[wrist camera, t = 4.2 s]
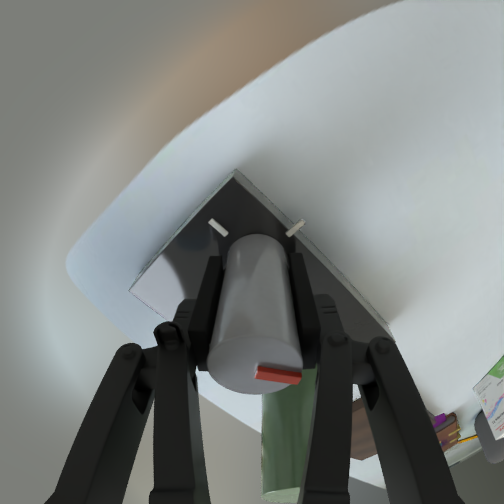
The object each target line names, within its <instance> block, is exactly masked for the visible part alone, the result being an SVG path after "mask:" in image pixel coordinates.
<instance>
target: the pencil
mask: <svg viewBox="0 0 504 504" xmlns="http://www.w3.org/2000/svg"><path fill="white" fill-rule="evenodd" d="M477 437H478V436H477V435H476V436H473V437H470V438H467V439H464V440H461V441H459V442H457V443H462V442H465V441H468V440H471V439H474V438H477Z"/></svg>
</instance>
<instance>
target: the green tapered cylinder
mask: <svg viewBox="0 0 504 504" xmlns="http://www.w3.org/2000/svg"><path fill="white" fill-rule="evenodd" d="M301 373H302V379H301V380H300V382H299V383H298V385H295V384H291V385H289V386H288V387H286V388H284V389H282V390H279V391H276V392H273V393H268V394H262V462H261V463H262V465H261V470H262V471H261V498H262V499H264V500H266V501H270V502H278V503H297V501H298V496H299V491H300V486H301V481H302V475H303V470H304V464H305V458H306V452H307V445H308V439H309V432H310V425H311V417H312V409H313V401H314V393H315V380H316V374H317V364H316V367H315V369H303V370H302V372H301Z"/></svg>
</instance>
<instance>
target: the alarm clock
mask: <svg viewBox="0 0 504 504" xmlns="http://www.w3.org/2000/svg"><path fill="white" fill-rule="evenodd" d="M474 426H475V431H476V433H477V436H478V438H479V441H480V443H481V446H482V449H483V451H484V454H485V457H486V459H487V461H488V462H489V463H493V464H495V463H498V462H500V461H502V460H504V437H503V438H500V439H498V440H495V437H494V435H493V432H492V430H491V428H490V425H489V423H488V421H487V418H486V416H485V414H484V411H482V412H481V413H480V414H479V415H478V416H477V418H476V420H475V424H474Z"/></svg>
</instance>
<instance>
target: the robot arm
mask: <svg viewBox="0 0 504 504" xmlns="http://www.w3.org/2000/svg"><path fill="white" fill-rule="evenodd" d="M223 272H224V268H223V260H222V256H210V257H209V260H208V263H207V266H206V270H205V273H204V276H203V279H202V283H201V286H200V289H199V293H198V296H197V299H184V300H183V301H182V302H181V303H180V304H179V305H178V307H177V310H176V313H175V315H174V318H173V321H167V322H163V323H161V324H159V325H158V326H157V327H156V328H155V329H154V332H153V333H154V336H155V339H156V341H157V344H158V346H155V347H152V348H147V349H142V348H141V346H139V345H138V344H135V343H128V344H125V345H123V346H121V347H120V348H119V349H118V350H117V352H116V354H115V356H114V358H113V360H112V362H111V364H110V366H109V368H108V369H107V371H106V374H105V375H104V377H103V379H102V381H101V384H100V386H99V388H98V390H97V392H96V394H95V396H94V398H93V400H92V402H91V404H90V407H89V409H88V411H87V413H86V415H85V418H84V420H83V422H82V424H81V427H80V429H79V431H78V433H77V436H76V438H75V441H74V443H73V445H72V448H71V450H70V453H69V455H68V457H67V460H66V462H65V465H64V468H63V470H62V473H61V475H60V478H59V481H58V484H57V486H56V489H55V492H54V493H53V494H52V495H51V496H50V498H49V499H48V500H47V501H46V502H45V503H44V504H122V502H123V499H124V495H125V491H126V488H127V484H128V480H129V477H130V474H131V470H132V467H133V464H134V460H135V457H136V454H137V450H138V447H139V444H140V441H141V437H142V434H143V431H144V428H145V425H146V422H147V419H148V416H149V413H150V409H151V406H152V403H153V400H155V401H154V433H153V434H154V435H153V454H154V455H153V456H154V457H153V460H154V461H153V462H154V488H153V490H152V491H151V492H150V495H149V504H211V502H210V496H209V490H208V482H207V475H206V467H205V458H204V450H203V441H202V431H201V422H200V411H199V398H198V384H197V376H196V373H195V371H196V366H197V367H198V370H199V371H208V369H207V364H206V361H207V355H208V350H209V344H210V339H211V334H212V328H213V323H214V318H215V313H216V308H217V302H218V297H219V292H220V287H221V282H222V277H223ZM289 272H290V278H291V284H292V290H293V296H294V302H295V309H296V315H297V322H298V328H299V335H300V342H301V349H302V356H303V369H315V367H316V364H317V374H316V380H315V393H314V401H313V409H312V417H311V425H310V432H309V439H308V445H307V452H306V458H305V464H304V470H303V475H302V481H301V486H300V491H299V496H298V501H297V504H350V495H349V493H348V479H349V468H350V454H351V437H352V404H353V384H357V385H358V388H359V391H360V394H361V398H362V401H363V404H364V407H365V411H366V414H367V418H368V421H369V424H370V428H371V431H372V435H373V438H374V442H375V446H376V449H377V453H378V457H379V461H380V464H381V468H382V472H383V476H384V480H385V484H386V488H387V493H388V497H389V501H390V504H465V503H464V502H463V501H462V499H461V498H460V497H459V496H458V494H457V491H456V488H455V485H454V482H453V479H452V476H451V473H450V470H449V467H448V464H447V461H446V458H445V456H444V453H443V450H442V447H441V445H440V442H439V440H438V437H437V434H436V432H435V429H434V427H433V424H432V422H431V420H430V417H429V415H428V412H427V410H426V408H425V405H424V403H423V401H422V398H421V396H420V394H419V392H418V390H417V387H416V385H415V383H414V381H413V379H412V376H411V374H410V372H409V370H408V368H407V366H406V364H405V362H404V360H403V358H402V356H401V354H400V352H399V350H398V348H397V346H396V344H395V343H394V341H393V340H391V339H390V338H387V337H384V336H378V337H375V338H373V339H372V340H370V342H369V343H364V342H358V341H355V340H352V339H351V338H350V336H349V335H348V334H347V333H345V331H344V329H343V325H342V322H341V319H340V316H339V313H338V310H337V307H336V304H335V301H334V299H333V298H332V297H331V296H330V295H329V294H318V295H313V292H312V288H311V285H310V281H309V277H308V273H307V269H306V266H305V262H304V258H303V254H302V253H289ZM303 369H302V370H303ZM154 397H155V399H154Z"/></svg>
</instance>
